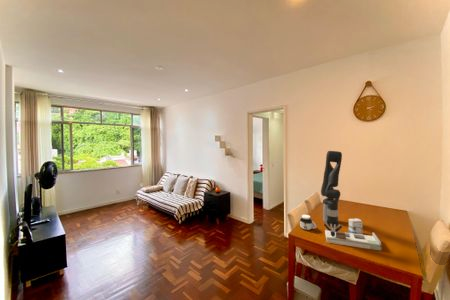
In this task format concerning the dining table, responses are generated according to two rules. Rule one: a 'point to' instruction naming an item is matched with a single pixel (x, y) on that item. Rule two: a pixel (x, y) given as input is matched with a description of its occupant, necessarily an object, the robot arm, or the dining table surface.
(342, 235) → the walnut block
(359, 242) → the two-hole white board
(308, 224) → the spread jar
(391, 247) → the dining table surface
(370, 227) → the dining table surface
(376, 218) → the dining table surface
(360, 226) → the ink box
